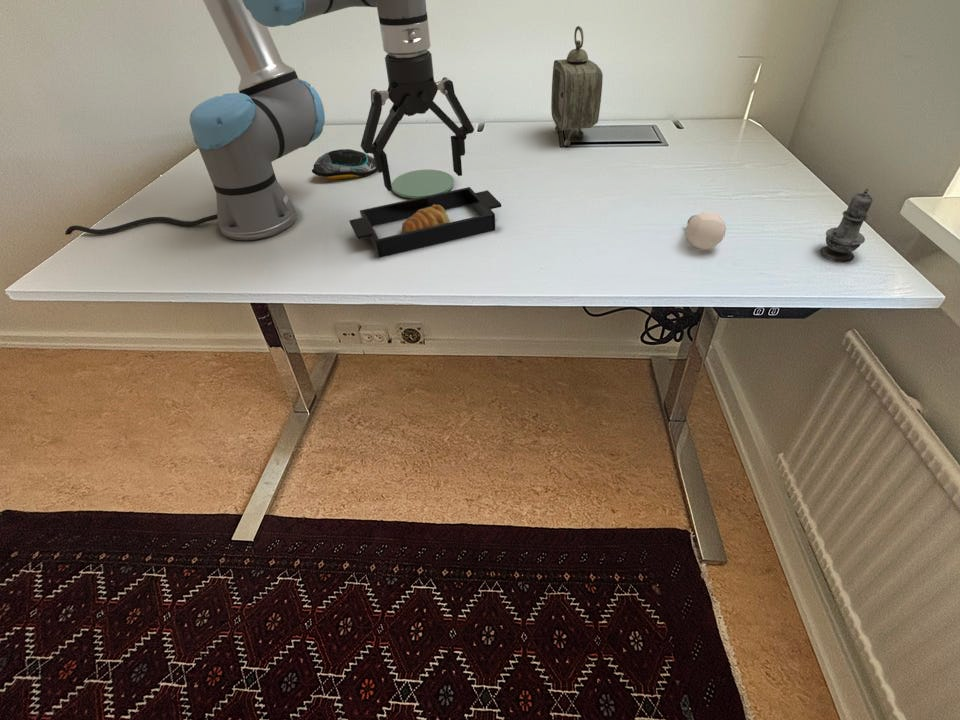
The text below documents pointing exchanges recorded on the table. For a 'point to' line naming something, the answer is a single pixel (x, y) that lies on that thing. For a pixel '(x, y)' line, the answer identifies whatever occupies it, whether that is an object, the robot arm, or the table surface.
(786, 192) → the table surface
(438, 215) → the pastry
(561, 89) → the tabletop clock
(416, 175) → the plate
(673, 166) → the table surface
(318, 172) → the black domed oval piece
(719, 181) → the table surface
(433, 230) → the pan
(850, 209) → the grey chess piece
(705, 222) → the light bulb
